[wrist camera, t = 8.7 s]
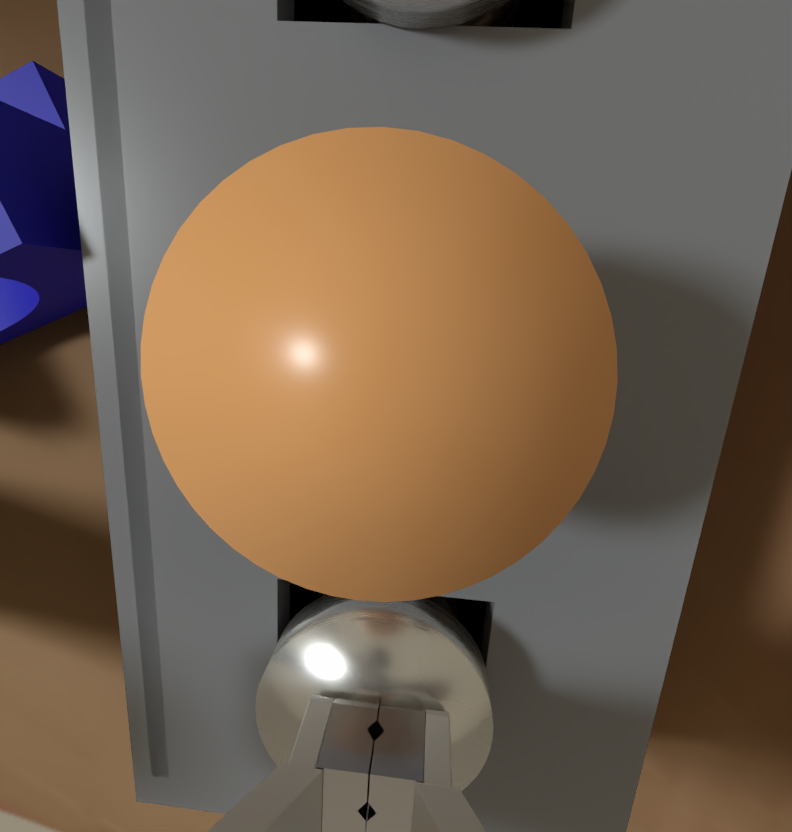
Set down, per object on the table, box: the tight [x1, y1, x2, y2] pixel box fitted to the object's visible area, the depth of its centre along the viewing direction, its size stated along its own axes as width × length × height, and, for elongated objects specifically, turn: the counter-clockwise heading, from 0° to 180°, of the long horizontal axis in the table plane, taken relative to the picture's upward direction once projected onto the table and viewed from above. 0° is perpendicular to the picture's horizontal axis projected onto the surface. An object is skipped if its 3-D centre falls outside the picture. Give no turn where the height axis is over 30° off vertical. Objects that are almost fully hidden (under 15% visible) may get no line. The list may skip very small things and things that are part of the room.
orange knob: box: [141, 127, 618, 602], centre depth 8 cm, size 5×5×6 cm
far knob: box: [255, 594, 493, 792], centre depth 13 cm, size 5×5×6 cm
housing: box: [57, 0, 792, 832], centre depth 12 cm, size 13×26×5 cm, turn 176°
